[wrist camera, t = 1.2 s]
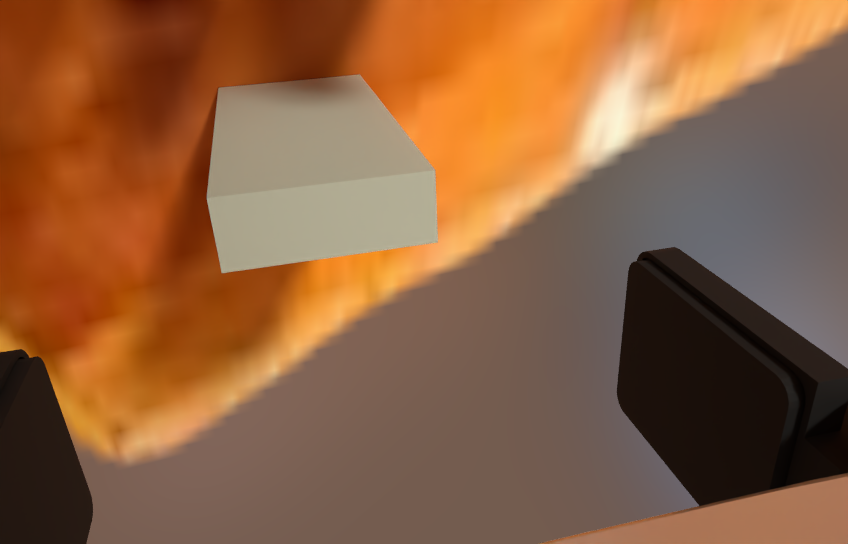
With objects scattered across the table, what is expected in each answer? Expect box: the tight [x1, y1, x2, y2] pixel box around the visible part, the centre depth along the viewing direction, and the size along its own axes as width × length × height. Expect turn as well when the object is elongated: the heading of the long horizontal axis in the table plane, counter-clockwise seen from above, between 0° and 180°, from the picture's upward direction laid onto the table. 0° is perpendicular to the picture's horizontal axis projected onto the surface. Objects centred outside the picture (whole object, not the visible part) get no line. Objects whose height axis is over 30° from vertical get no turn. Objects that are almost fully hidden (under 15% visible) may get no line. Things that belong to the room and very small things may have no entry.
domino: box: [207, 75, 438, 273], centre depth 20 cm, size 2×5×11 cm, turn 93°
